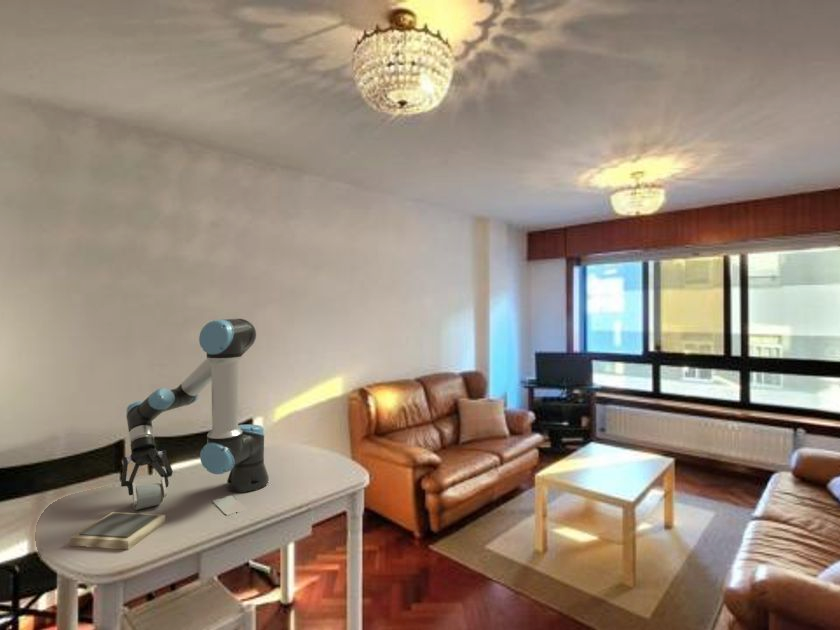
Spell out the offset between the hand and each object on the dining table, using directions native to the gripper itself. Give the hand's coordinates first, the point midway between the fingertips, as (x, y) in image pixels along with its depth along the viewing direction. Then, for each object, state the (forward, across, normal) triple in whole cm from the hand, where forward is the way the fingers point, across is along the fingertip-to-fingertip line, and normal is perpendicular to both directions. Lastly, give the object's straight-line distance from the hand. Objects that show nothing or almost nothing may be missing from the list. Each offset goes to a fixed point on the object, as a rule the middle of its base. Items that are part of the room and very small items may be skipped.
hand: (150, 499), depth 153 cm
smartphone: (+12, -22, +6) cm, 26 cm away
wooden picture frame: (+11, +10, +6) cm, 16 cm away
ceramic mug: (-1, 0, -6) cm, 6 cm away
